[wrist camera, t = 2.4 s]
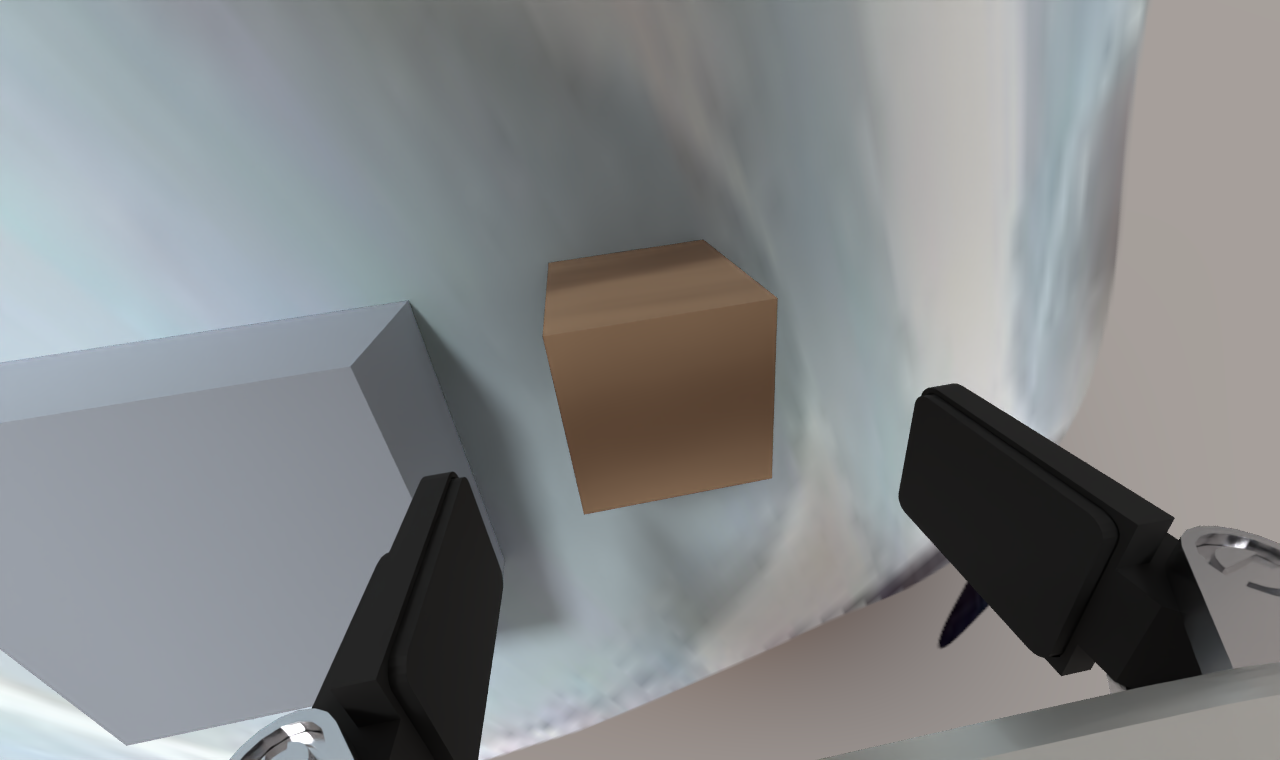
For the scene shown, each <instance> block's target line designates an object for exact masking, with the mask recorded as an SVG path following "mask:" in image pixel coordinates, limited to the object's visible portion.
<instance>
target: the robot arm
mask: <svg viewBox="0 0 1280 760" xmlns="http://www.w3.org/2000/svg"><path fill="white" fill-rule="evenodd" d="M899 502H900V505H901V507H902V509H903V510H904V512H905V513H906V514H907V515H908V516H909V517H910V518H911V519H912V521H913V522H914V523H915V524H916V525H917V526H918V527H919V528H920V529H921V531H922V532H923V533H924V534H925V535H926V536H927V537H928V538H929V539H930V540H931V542H932V543H933V544H934V545H935V546H936V547H937V548H938V549H939V550H940V551H941V553H942V554H943V555H944V556H945V557H946V558H947V559H948V560H949V561H950V562H951V564H952V565H953V566H954V567H955V568H956V569H957V570H958V571H959V572H960V573H961V575H962V576H963V577H964V578H965V579H966V580H967V581H968V582H969V583H970V585H971V586H972V587H973V588H974V589H975V590H976V591H977V592H978V593H979V594H980V596H981V597H982V598H983V599H984V600H985V601H986V602H987V603H988V604H989V605H990V607H991V608H992V609H993V610H994V611H995V612H996V613H997V614H998V615H999V616H1000V618H1001V619H1002V620H1003V621H1004V622H1005V623H1006V624H1007V625H1008V626H1009V628H1010V629H1011V630H1012V631H1013V632H1014V633H1015V634H1016V635H1017V636H1018V637H1019V638H1020V640H1022V642H1023V643H1024V644H1025V645H1026V646H1027V647H1028V648H1029V649H1030V650H1031V651H1032V652H1033V653H1034V654H1036V655H1038V656H1040V657H1043V658H1045V659H1046V660H1047V661H1048V662H1049V663H1050V664H1051V666H1052V667H1053V668H1054V669H1055V670H1056V671H1057V672H1058V673H1059V674H1060V675H1061V676H1064V675H1068V674H1073V673H1077V672H1082V671H1086V670H1091V668H1092V666H1093V664H1094V663H1095V662H1096V663H1097V664H1098V665H1099V666H1100V667H1101V668H1102V669H1103V670H1104V671H1105V672H1106V673H1107V679H1108V684H1109V689H1110V694H1108V695H1104V696H1099V697H1095V698H1090V699H1086V700H1081V701H1077V702H1072V703H1068V704H1063V705H1059V706H1054V707H1050V708H1045V709H1040V710H1036V711H1032V712H1027V713H1022V714H1018V715H1013V716H1009V717H1004V718H1000V719H995V720H991V721H986V722H982V723H977V724H973V725H969V726H964V727H960V728H955V729H951V730H946V731H942V732H938V733H933V734H929V735H924V736H920V737H916V738H911V739H907V740H902V741H898V742H894V743H889V744H885V745H880V746H877V747H872V748H867V749H863V750H858V751H854V752H850V753H845V754H842V755H837V756H832V757H828V758H824V759H819V760H1280V544H1279V543H1277V542H1274V541H1272V540H1269V539H1267V538H1264V537H1262V536H1259V535H1255V534H1252V533H1248V532H1245V531H1241V530H1238V529H1232V528H1225V527H1219V526H1197V527H1194V528H1191V529H1187V530H1186V531H1185V532H1184V533H1183V535H1182V536H1181V537H1180V539H1179V540H1178V539H1176V538H1174V537H1173V536H1171V535H1170V534H1168V533H1167V531H1168V529H1169V527H1170V526H1171V524H1172V522H1173V520H1174V517H1173V516H1171V515H1169V514H1168V513H1166V512H1164V511H1163V510H1161V509H1160V508H1158V507H1156V506H1155V505H1153V504H1152V503H1150V502H1148V501H1147V500H1145V499H1144V498H1142V497H1140V496H1139V495H1137V494H1136V493H1134V492H1132V491H1131V490H1129V489H1127V488H1126V487H1124V486H1123V485H1121V484H1119V483H1118V482H1116V481H1115V480H1113V479H1111V478H1110V477H1108V476H1106V475H1105V474H1103V473H1102V472H1100V471H1098V470H1097V469H1095V468H1094V467H1092V466H1090V465H1089V464H1087V463H1086V462H1084V461H1082V460H1081V459H1079V458H1078V457H1076V456H1074V455H1073V454H1071V453H1070V452H1068V451H1066V450H1065V449H1063V448H1061V447H1060V446H1058V445H1057V444H1055V443H1053V442H1052V441H1050V440H1049V439H1047V438H1045V437H1044V436H1042V435H1041V434H1039V433H1037V432H1036V431H1034V430H1032V429H1031V428H1029V427H1028V426H1026V425H1024V424H1023V423H1021V422H1020V421H1018V420H1016V419H1015V418H1013V417H1012V416H1010V415H1008V414H1007V413H1005V412H1004V411H1002V410H1000V409H999V408H997V407H995V406H994V405H992V404H991V403H989V402H987V401H986V400H984V399H983V398H981V397H979V396H978V395H976V394H975V393H973V392H971V391H970V390H968V389H966V388H965V387H963V386H961V385H959V384H948V385H942V386H936V387H931V388H927V389H925V390H924V391H923V393H922V395H921V396H920V397H918V398H917V400H916V402H915V407H914V412H913V418H912V423H911V428H910V434H909V439H908V445H907V450H906V456H905V461H904V467H903V472H902V478H901V483H900V489H899ZM502 591H503V576H502V571H501V568H500V565H499V563H498V560H497V557H496V554H495V552H494V549H493V546H492V544H491V541H490V538H489V535H488V533H487V530H486V527H485V524H484V522H483V519H482V516H481V513H480V511H479V508H478V505H477V502H476V500H475V497H474V494H473V491H472V489H471V486H470V483H469V481H468V479H467V478H466V477H461V478H459V477H458V475H457V474H456V473H455V472H453V471H452V472H447V473H441V474H435V475H430V476H425V477H423V478H422V479H421V481H420V483H419V485H418V487H417V490H416V492H415V494H414V496H413V499H412V501H411V503H410V506H409V508H408V510H407V512H406V515H405V517H404V519H403V522H402V524H401V526H400V529H399V531H398V533H397V535H396V538H395V540H394V542H393V545H392V547H391V549H390V551H389V553H386V554H385V555H383V556H382V557H381V558H380V560H379V562H378V563H377V565H376V567H375V569H374V572H373V574H372V576H371V578H370V580H369V583H368V585H367V587H366V589H365V591H364V594H363V596H362V598H361V600H360V602H359V605H358V607H357V609H356V611H355V614H354V616H353V618H352V620H351V622H350V625H349V627H348V629H347V631H346V633H345V636H344V638H343V640H342V642H341V644H340V647H339V649H338V651H337V653H336V656H335V658H334V660H333V662H332V664H331V667H330V669H329V671H328V673H327V675H326V678H325V680H324V682H323V684H322V686H321V689H320V691H319V693H318V695H317V698H316V700H315V702H314V704H313V706H312V709H305V710H298V711H295V712H293V713H290V714H288V715H285V716H283V717H280V718H278V719H277V720H275V721H274V722H272V723H271V724H269V725H267V726H266V727H264V728H263V729H261V730H260V731H258V732H257V733H256V734H255V735H254V736H253V737H251V738H250V739H249V740H248V741H247V742H246V743H245V744H243V745H242V746H241V747H240V748H239V749H238V750H237V751H236V753H235V754H234V755H233V756H232V757H231V758H230V760H478V756H479V749H480V742H481V735H482V728H483V722H484V715H485V708H486V701H487V694H488V687H489V680H490V674H491V667H492V660H493V653H494V646H495V639H496V633H497V626H498V619H499V612H500V605H501V598H502Z"/></svg>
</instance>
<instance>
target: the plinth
mask: <svg viewBox="0 0 1280 760" xmlns="http://www.w3.org/2000/svg"><path fill="white" fill-rule="evenodd" d="M452 471H453V472H455V473H456V474H457V475H458V477H459V478H461V477H466V478H467V479H468V481H469V483H470V486H471V489H472V491H473V494H474V497H475V500H476V502H477V505H478V508H479V511H480V513H481V516H482V519H483V522H484V524H485V527H486V530H487V533H488V535H489V538H490V541H491V544H492V546H493V549H494V552H495V554H496V557H497V560H498V563H499V565H500V568H501V571H502V576H503V572H504V564H505V560H504V557H503V555H502V552H501V549H500V546H499V544H498V541H497V538H496V536H495V533H494V530H493V528H492V525H491V522H490V519H489V517H488V514H487V511H486V509H485V506H484V503H483V501H482V498H481V495H480V492H479V490H478V487H477V484H476V482H475V479H474V476H473V473H472V471H471V468H470V465H469V463H468V460H467V457H466V455H465V452H464V449H463V446H462V444H461V441H460V438H459V436H458V433H457V430H456V428H455V425H454V422H453V419H452V417H451V414H450V411H449V409H448V406H447V403H446V401H445V398H444V395H443V392H442V390H441V387H440V384H439V382H438V379H437V376H436V373H435V371H434V368H433V365H432V363H431V360H430V357H429V355H428V352H427V349H426V346H425V344H424V341H423V338H422V336H421V333H420V330H419V328H418V325H417V322H416V319H415V317H414V314H413V311H412V309H411V306H410V303H409V300H408V301H401V302H395V303H388V304H381V305H375V306H368V307H362V308H355V309H349V310H342V311H336V312H329V313H323V314H316V315H309V316H303V317H296V318H290V319H283V320H277V321H270V322H264V323H257V324H251V325H244V326H237V327H231V328H224V329H218V330H211V331H205V332H198V333H192V334H185V335H179V336H172V337H165V338H159V339H152V340H146V341H139V342H133V343H126V344H120V345H113V346H107V347H100V348H94V349H87V350H80V351H74V352H67V353H61V354H54V355H48V356H41V357H35V358H28V359H22V360H15V361H8V362H2V363H0V649H1V650H2V651H3V652H5V653H6V654H7V655H8V656H10V657H11V658H12V659H14V660H15V661H16V662H18V663H19V664H20V665H22V666H23V667H24V668H25V669H27V670H28V671H29V672H31V673H32V674H33V675H35V676H36V677H37V678H39V679H40V680H41V681H42V682H44V683H45V684H46V685H48V686H49V687H50V688H52V689H53V690H54V691H56V692H57V693H58V694H60V695H61V696H62V697H63V698H65V699H66V700H67V701H69V702H70V703H71V704H73V705H74V706H75V707H77V708H78V709H79V710H80V711H82V712H83V713H84V714H86V715H87V716H88V717H90V718H91V719H92V720H94V721H95V722H96V723H98V724H99V725H100V726H101V727H103V728H104V729H105V730H107V731H108V732H109V733H111V734H112V735H113V736H115V737H116V738H117V739H118V740H120V741H121V742H122V743H124V744H125V745H126V746H127V745H132V744H137V743H141V742H146V741H151V740H155V739H160V738H165V737H170V736H174V735H179V734H184V733H188V732H193V731H198V730H203V729H207V728H212V727H217V726H221V725H226V724H231V723H236V722H240V721H245V720H250V719H254V718H259V717H264V716H269V715H273V714H278V713H283V712H287V711H292V710H297V709H302V708H306V707H311V706H313V704H314V702H315V700H316V698H317V695H318V693H319V691H320V689H321V686H322V684H323V682H324V680H325V678H326V675H327V673H328V671H329V669H330V667H331V664H332V662H333V660H334V658H335V656H336V653H337V651H338V649H339V647H340V644H341V642H342V640H343V638H344V636H345V633H346V631H347V629H348V627H349V625H350V622H351V620H352V618H353V616H354V614H355V611H356V609H357V607H358V605H359V602H360V600H361V598H362V596H363V594H364V591H365V589H366V587H367V585H368V583H369V580H370V578H371V576H372V574H373V572H374V569H375V567H376V565H377V563H378V562H379V560H380V558H381V557H382V556H383V555H385V554H386V553H389V551H390V549H391V547H392V545H393V542H394V540H395V538H396V535H397V533H398V531H399V529H400V526H401V524H402V522H403V519H404V517H405V515H406V512H407V510H408V508H409V506H410V503H411V501H412V499H413V496H414V494H415V492H416V490H417V487H418V485H419V483H420V481H421V479H422V478H423V477H425V476H430V475H435V474H441V473H447V472H452Z"/></svg>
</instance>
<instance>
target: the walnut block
mask: <svg viewBox="0 0 1280 760" xmlns="http://www.w3.org/2000/svg"><path fill="white" fill-rule="evenodd" d="M777 300H778V298H777V297H775V296H774V295H773V294H772V293H770V292H769V291H768V290H766V289H765V288H764V287H763V286H761V285H760V284H759V283H758V282H756V281H755V280H754V279H753V278H751V277H750V276H749V275H747V274H746V273H745V272H744V271H742V270H741V269H740V268H739V267H737V266H736V265H735V264H734V263H732V262H731V261H730V260H728V259H727V258H726V257H725V256H723V255H722V254H721V253H720V252H718V251H717V250H716V249H714V248H713V247H712V246H711V245H709V244H708V243H707V242H706V241H704V240H697V241H690V242H684V243H677V244H670V245H664V246H657V247H650V248H644V249H637V250H630V251H624V252H617V253H611V254H604V255H597V256H591V257H584V258H577V259H571V260H564V261H557V262H551V263H548V276H547V288H546V300H545V313H544V325H543V340H544V345H545V349H546V353H547V358H548V362H549V366H550V370H551V375H552V379H553V383H554V388H555V392H556V396H557V400H558V405H559V409H560V413H561V418H562V422H563V426H564V430H565V435H566V439H567V443H568V448H569V452H570V456H571V460H572V465H573V469H574V473H575V478H576V482H577V486H578V490H579V495H580V499H581V503H582V508H583V512H584V514H589V513H594V512H600V511H605V510H610V509H615V508H620V507H626V506H631V505H636V504H641V503H646V502H651V501H657V500H662V499H667V498H672V497H677V496H682V495H688V494H693V493H698V492H703V491H708V490H713V489H719V488H724V487H729V486H734V485H739V484H744V483H750V482H755V481H760V480H765V479H770V478H772V456H773V425H774V393H775V362H776V331H777Z"/></svg>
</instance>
